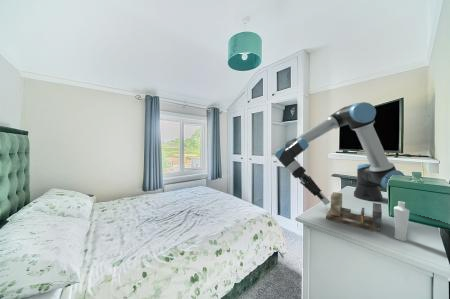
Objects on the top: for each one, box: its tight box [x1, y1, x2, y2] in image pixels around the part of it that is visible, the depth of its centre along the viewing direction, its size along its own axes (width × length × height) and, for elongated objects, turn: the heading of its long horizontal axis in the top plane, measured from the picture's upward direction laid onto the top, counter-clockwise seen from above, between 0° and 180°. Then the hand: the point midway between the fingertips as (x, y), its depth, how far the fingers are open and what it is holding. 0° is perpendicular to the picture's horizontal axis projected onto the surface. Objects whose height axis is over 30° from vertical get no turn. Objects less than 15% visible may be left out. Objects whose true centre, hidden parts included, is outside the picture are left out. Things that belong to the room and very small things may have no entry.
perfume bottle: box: [393, 200, 411, 242], centre depth 70 cm, size 5×4×15 cm
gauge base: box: [325, 202, 383, 233], centre depth 85 cm, size 21×12×9 cm, turn 49°
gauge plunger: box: [330, 191, 352, 216], centre depth 88 cm, size 8×7×10 cm
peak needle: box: [360, 207, 366, 223], centre depth 82 cm, size 1×9×4 cm, turn 139°
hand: (327, 203), depth 92 cm, fingers closed
